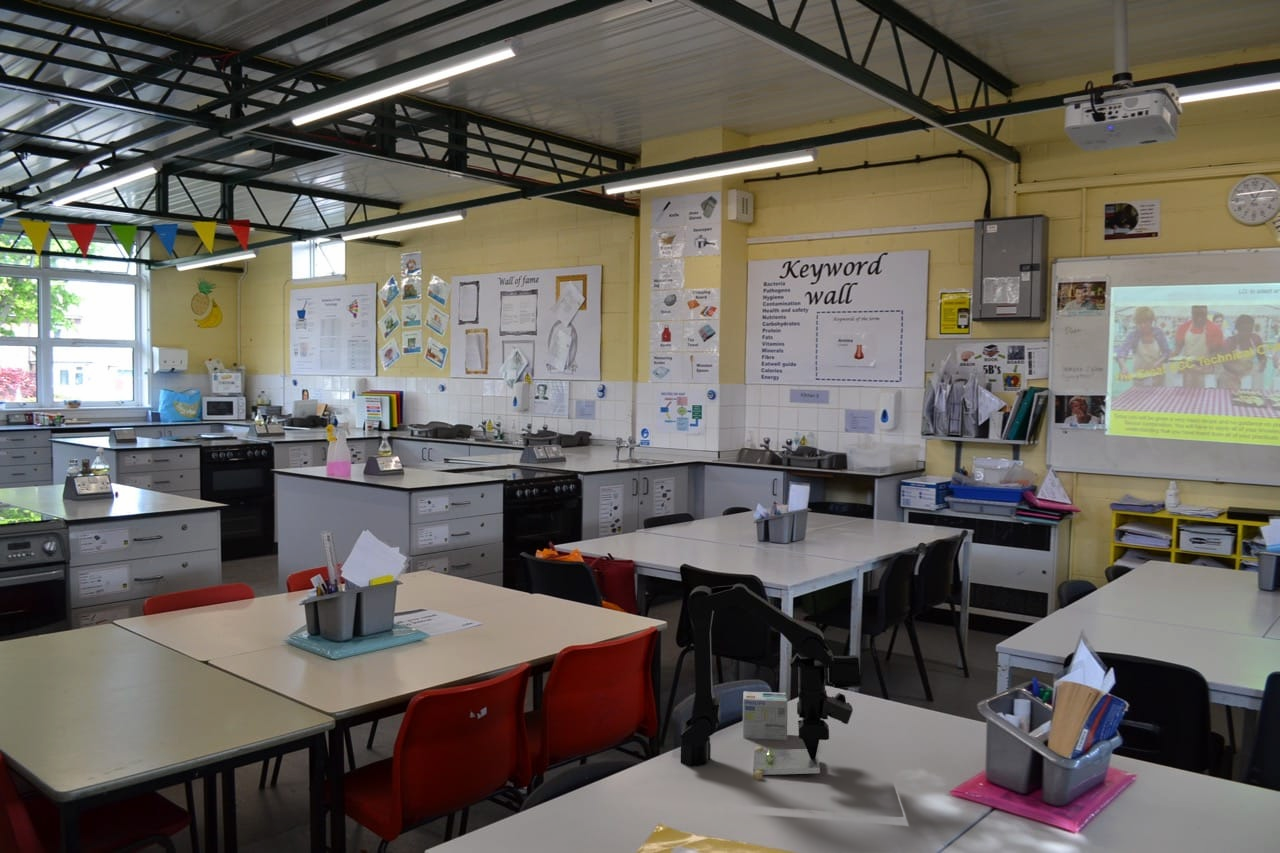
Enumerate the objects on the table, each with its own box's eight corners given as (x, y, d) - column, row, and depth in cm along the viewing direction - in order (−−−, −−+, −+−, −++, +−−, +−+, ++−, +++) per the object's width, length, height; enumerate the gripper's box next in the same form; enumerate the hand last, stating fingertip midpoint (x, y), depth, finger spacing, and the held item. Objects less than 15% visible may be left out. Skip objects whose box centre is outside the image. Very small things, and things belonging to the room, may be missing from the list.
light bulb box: (786, 735, 222) (786, 691, 222) (788, 745, 215) (788, 700, 215) (742, 733, 223) (742, 690, 223) (742, 743, 216) (743, 698, 216)
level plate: (753, 775, 194) (752, 761, 194) (754, 755, 205) (753, 743, 205) (820, 773, 192) (818, 759, 192) (817, 753, 203) (816, 741, 203)
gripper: (853, 701, 187) (854, 776, 187) (846, 675, 206) (847, 744, 206) (798, 699, 189) (799, 774, 189) (796, 673, 207) (797, 742, 207)
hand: (812, 758), depth 198 cm, fingers closed, pressing on level plate
